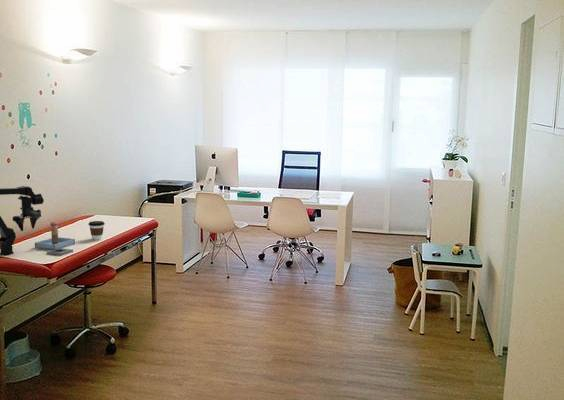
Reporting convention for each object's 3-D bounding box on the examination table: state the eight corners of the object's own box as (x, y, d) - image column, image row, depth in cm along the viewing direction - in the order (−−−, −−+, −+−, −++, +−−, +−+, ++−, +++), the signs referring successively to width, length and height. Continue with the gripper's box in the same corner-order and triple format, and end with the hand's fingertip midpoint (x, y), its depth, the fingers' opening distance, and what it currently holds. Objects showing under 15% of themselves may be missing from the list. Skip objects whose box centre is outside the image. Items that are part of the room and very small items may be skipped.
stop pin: (58, 245, 364) (57, 222, 362) (51, 245, 362) (50, 223, 360) (59, 243, 368) (58, 221, 366) (51, 244, 367) (50, 222, 365)
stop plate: (61, 255, 340) (61, 253, 340) (46, 254, 344) (46, 251, 344) (73, 251, 351) (73, 249, 350) (59, 250, 354) (59, 247, 354)
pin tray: (54, 250, 354) (54, 244, 353) (34, 247, 359) (34, 242, 358) (74, 244, 372) (74, 238, 372) (56, 241, 377) (56, 236, 377)
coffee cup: (100, 240, 383) (99, 224, 381) (85, 239, 385) (85, 223, 383) (107, 237, 393) (107, 221, 392) (94, 236, 395) (93, 220, 394)
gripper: (25, 208, 338) (26, 233, 341) (47, 204, 356) (48, 228, 358) (11, 207, 342) (12, 232, 344) (33, 203, 359) (34, 226, 362)
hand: (27, 229), depth 352 cm, fingers open, 9 cm apart
